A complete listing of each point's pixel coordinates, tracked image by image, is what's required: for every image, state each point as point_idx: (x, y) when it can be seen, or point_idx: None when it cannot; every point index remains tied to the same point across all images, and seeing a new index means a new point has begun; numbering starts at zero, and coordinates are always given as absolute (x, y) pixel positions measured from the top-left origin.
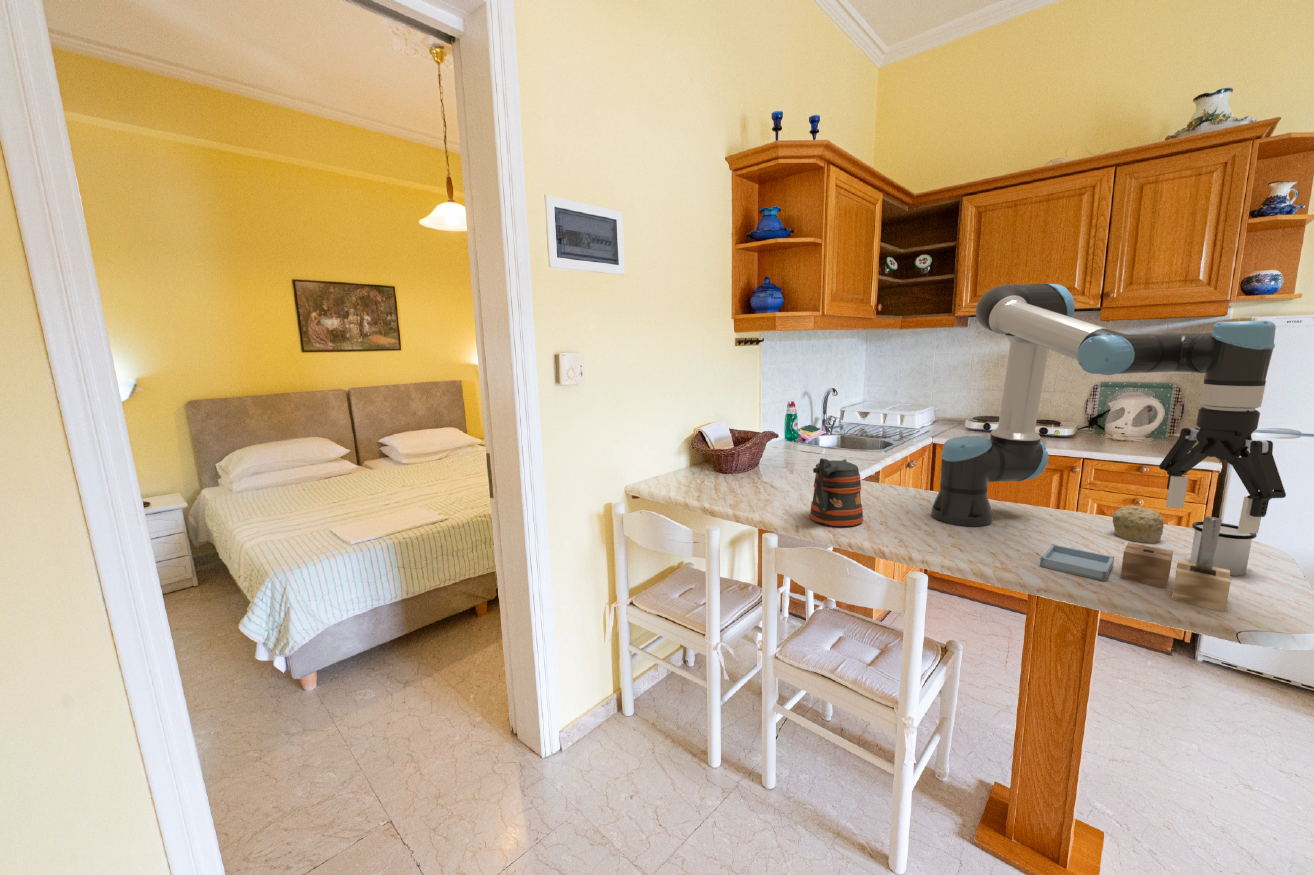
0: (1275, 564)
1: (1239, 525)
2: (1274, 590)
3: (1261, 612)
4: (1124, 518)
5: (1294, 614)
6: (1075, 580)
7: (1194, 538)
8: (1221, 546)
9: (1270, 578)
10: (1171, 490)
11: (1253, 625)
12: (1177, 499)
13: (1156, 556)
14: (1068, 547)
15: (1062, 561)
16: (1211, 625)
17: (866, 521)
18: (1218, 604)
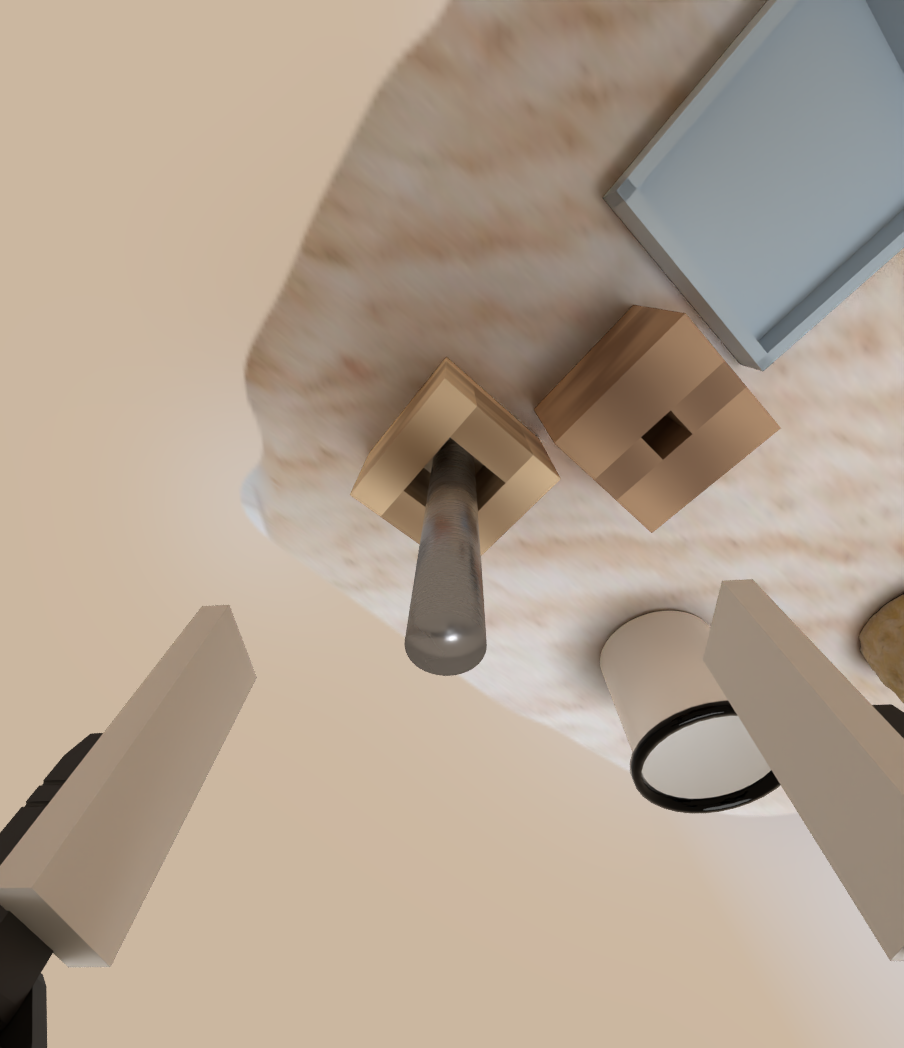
0: None
1: (200, 637)
2: (513, 665)
3: (379, 542)
4: None
5: (378, 603)
6: (631, 30)
7: None
8: (652, 693)
9: (580, 707)
10: (830, 697)
11: (289, 458)
12: (749, 672)
13: (604, 421)
14: None
15: (830, 111)
16: (258, 331)
17: None
18: (376, 447)
